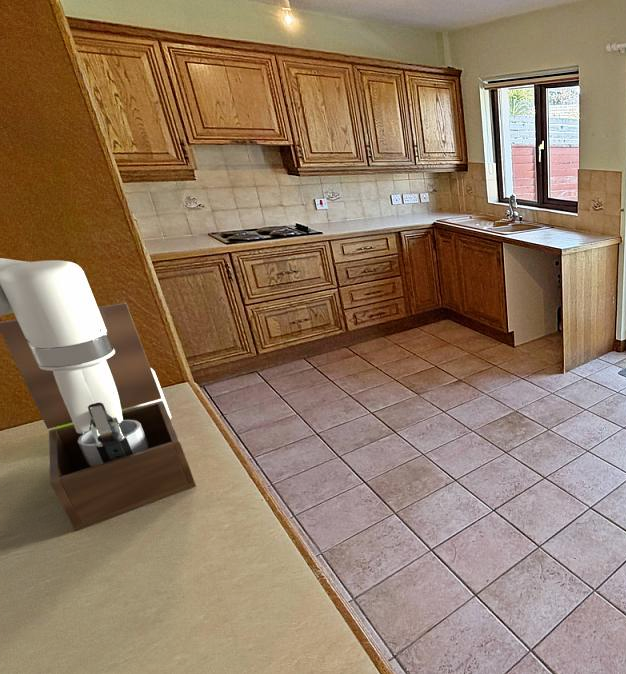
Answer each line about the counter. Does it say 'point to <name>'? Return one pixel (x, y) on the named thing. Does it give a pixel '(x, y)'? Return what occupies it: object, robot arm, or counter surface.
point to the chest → (118, 470)
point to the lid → (124, 364)
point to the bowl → (128, 429)
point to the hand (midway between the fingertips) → (118, 452)
